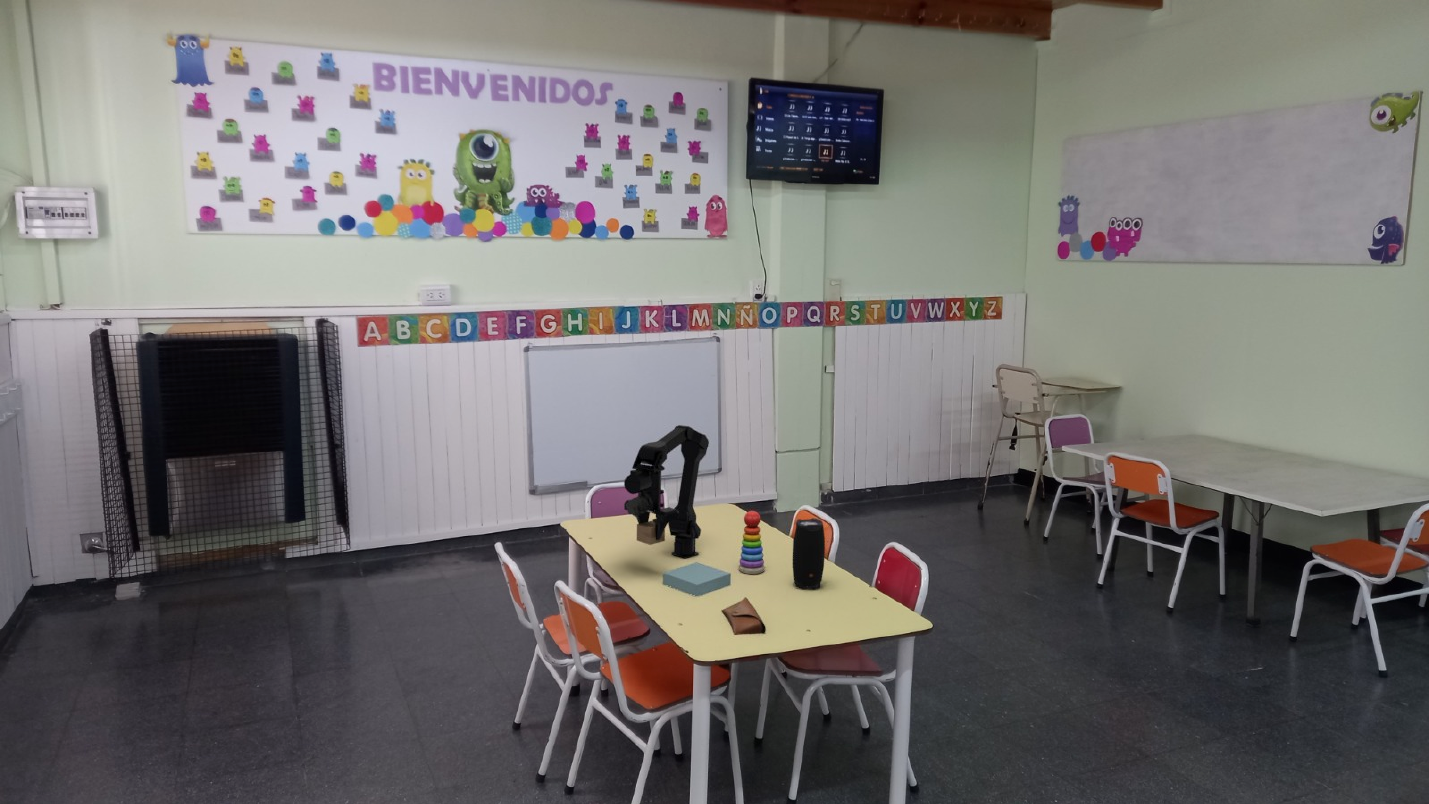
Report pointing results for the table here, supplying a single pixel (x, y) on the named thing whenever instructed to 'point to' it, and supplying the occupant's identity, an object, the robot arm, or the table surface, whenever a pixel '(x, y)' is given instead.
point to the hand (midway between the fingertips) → (650, 537)
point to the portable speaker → (808, 553)
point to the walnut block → (648, 533)
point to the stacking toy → (751, 545)
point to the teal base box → (697, 579)
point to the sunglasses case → (744, 618)
